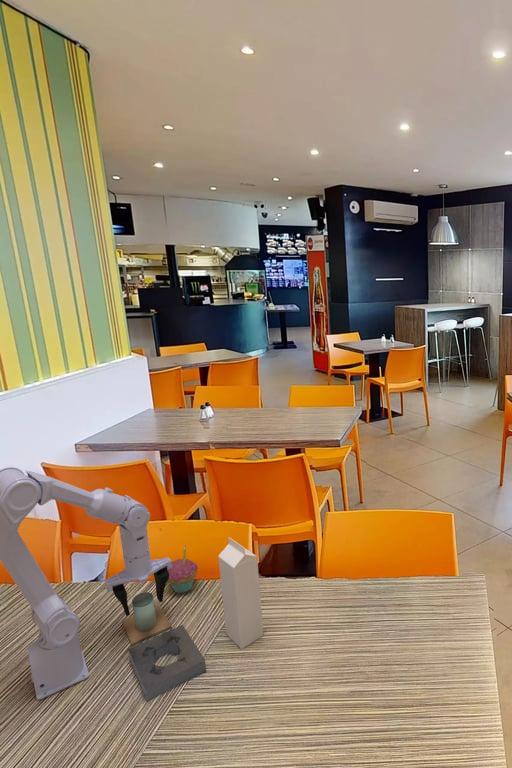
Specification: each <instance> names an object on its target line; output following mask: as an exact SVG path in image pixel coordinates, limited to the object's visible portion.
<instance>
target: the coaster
mask: <svg viewBox="0 0 512 768" xmlns="http://www.w3.org/2000/svg"><path fill="white" fill-rule="evenodd" d="M154 606H155V613H156V619H157V624H156V625H155V627H154V628H152V629H151V630H148V631H144V632H142V631H139V630H137V628H136V622H135V616H134V614H132V615H129V616H126V617H125V618H122V619H121V620H120V621H121V623H122V625H123V628H124V630H125V633H126V635H127V637H128V639H129V641H130V644H131V647H134V646H136V645H138V644H141V643H143V642H145V641H147V640H149V639H152V638H154V637H156V636H158V635H161V634H163V633H165V632H167V631H169V630H172V629H173V627H172V624H171V623H170V621H169V619H168V618H167V615H166V614H165V613H164V611H163V609H162V607H161V606H160V604H156V605H154Z"/></svg>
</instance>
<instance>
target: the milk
mask: <svg viewBox="0 0 512 768" xmlns="http://www.w3.org/2000/svg"><path fill="white" fill-rule="evenodd" d="M227 539H228V544H227V545H226V546H225V547H224V549H222V551H221V552H220V553H219V555H217V556H218V557H217V558H218V567H219V568H218V569H219V576H220V577H219V579H220V588H221V596H222V597H221V598H222V608H223V616H224V625H225V626H224V627H225V634H226V635H227V636H228V638H230V639H231V641H232V642H233V643H235V644H236V646H238V647H239V648H240V649H241V650H242V649H244V648H245V647H248V646H249V645H250V644H253V643H254V642H256V641H257V640H258V639H260V638H262V637H263V636H264V625H263V615H262V614H263V613H262V611H263V610H262V601H261V600H262V599H261V589H260V577H259V564H258V556H257V555H256V554H255V553H252V552H251V551H250V550H248V549H247V548H245V547H244V546H243V545H241V544H240V543H239V542H237V541H235V540H234V539H233V538H231V537H228V538H227Z"/></svg>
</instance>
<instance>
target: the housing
mask: <svg viewBox="0 0 512 768" xmlns="http://www.w3.org/2000/svg"><path fill="white" fill-rule="evenodd" d="M195 643H196V642H194V641H193V639H192V637H191V635H190V634H189V633H188V631H187V629H186V627H185V626H184V625H183V624H181V625H179V626H176V627H174V628H171V629H169V630H167V631H164V632H162V633H160V634H158V635H156V636H153V637H151V638H149V639H147V640H144V641H142V642H140V643H138V644H135V645H133V646H131V647H130V648H128V649H127V651H128V656H129V658H128V659H129V661H130V663H131V666H132V668H133V671H134V673H135V676H136V678H137V680H138V683H139V686H140V688H141V690H142V692H143V693H142V694H143V695H144V698H145V699H146V702H148V701H151V700H153V699H155V698H157V697H159V696H160V695H162V694H165V693H166V692H169V691H170V690H172V689H174V688H176V687H178V686H180V685H181V684H184V683H185V682H187V681H190V680H191V679H193V678H195V677H198V676H199V675H202V674H203V673H204V672H207V665H206V659H205V657H204V656H203V655H202V653H201V652H200V650H199V649H198V646H197V645H196V644H195ZM167 654H170V655H176V656H177V655H178V657H177V659H176V661H173V662H171V663H169V664H168V665H165V666H162V665H157V664H156V665H155V662H156V660H157V659H159V658H161V657H163V656H165V655H167Z"/></svg>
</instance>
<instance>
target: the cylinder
mask: <svg viewBox="0 0 512 768" xmlns="http://www.w3.org/2000/svg"><path fill="white" fill-rule="evenodd" d="M131 604H132V610H133V615H134V616H135V622H136V628H137V630H139V631H142V632H144V631H148V630H151V629H152V628H154V627H155V625H156V624H157V619H156V613H155V606H156V605H155V600H154V595H153V594H152V592H149V591H148V592H147V591H146V592H141V593H138V594H136V595H134V597H133V598H132V599H131Z"/></svg>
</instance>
